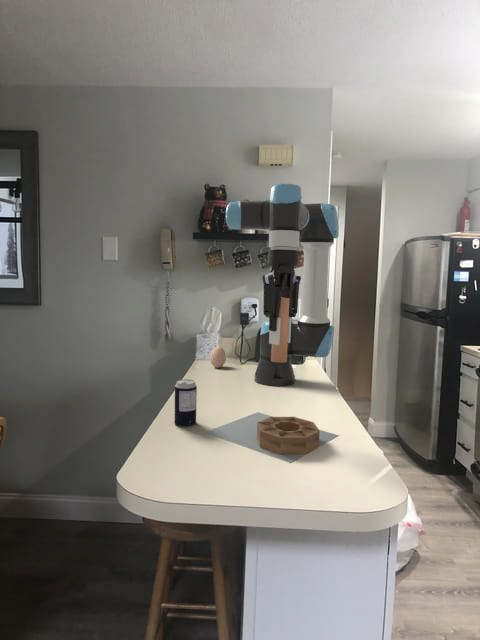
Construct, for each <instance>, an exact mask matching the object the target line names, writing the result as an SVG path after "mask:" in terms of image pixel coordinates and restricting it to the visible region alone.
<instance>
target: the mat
mask: <svg viewBox="0 0 480 640" xmlns="http://www.w3.org/2000/svg"><path fill="white" fill-rule="evenodd" d="M269 417H274V416H272V415H268V414H265V413H261V412H258V411H257V412H254V413H252V414H249V415H246V416H243V417H241V418H238V419H235V420H232V421H231V422H228V423H225V424H222V425H220V426H217V427H215V428H211V429H208V430H206V431H204V433H205V434H208V435H211V436H213V437H216V438H218V439H221V440H224V441H228V442H229V443H233V444H236V445H238V446H241V447H244V448H247V449H250V450H252V451H256V452H258V453H260V454H263V455H266V456H270V457H272V458H274V459H278V460H280V461H284V462H286V463H288V464H292V463H294V462H295V461H297V460H299V459H300V458H302V457H305V456H306V455H308V454H310V453H311V452H309V453H307V454H302V455H280V454H277V453H274V452H271V451H268V450H265V449H262V448H260V447H259V444H258V441H257V422H259V421H262V420H264V419H267V418H269ZM319 430H320V433H319V447H318V448H320V447H322V446H324V445H325V444H327V443H329V442H331V441H333V440H334V439H336V438H337V437H340V434H335V433H331V432H328V431H325V430H321V429H319ZM318 448H316V449H314V450H313V451H315V450H317V449H318Z"/></svg>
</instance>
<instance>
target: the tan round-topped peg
mask: <svg viewBox="0 0 480 640" xmlns="http://www.w3.org/2000/svg"><path fill="white" fill-rule="evenodd" d="M289 299H290V298H282V297H281V304H280V310H279V316H278V318H281V322H280V345H275V344H272V349H271V361H272V362H278V363H283V362H287V346H288V323H289Z"/></svg>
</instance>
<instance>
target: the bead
mask: <svg viewBox="0 0 480 640" xmlns="http://www.w3.org/2000/svg"><path fill="white" fill-rule="evenodd" d="M320 430H321V429H319V428H318V426H317V425H316V424H315V423H314V421H312V420H311V421H310V420H307V419H304V418H299V417H296V416H273V417H269V418H267V419H264V420H262V421H259V422H257V441H258V444H259V447H260V448H262V449H265V450H268V451H271V452H274V453H277V454H280V455H302V454H306V455H308V454H310V453H311V452H313V451H315V450H317V449H318V448H320V447H319V433H320ZM316 448H317V449H316ZM314 449H315V450H314ZM309 452H310V453H309ZM307 453H308V454H307Z"/></svg>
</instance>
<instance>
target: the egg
mask: <svg viewBox="0 0 480 640" xmlns="http://www.w3.org/2000/svg"><path fill="white" fill-rule="evenodd" d="M209 360H210V364H211V365H212V366H213V367H214V368H216V369H219V368H221V367H223V366H224V365H225V363H226V360H227V354H226V352H225V350H224V348H222V346H220V345H217V346H215V347H214V348H213V349H211V352H210V356H209Z"/></svg>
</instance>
